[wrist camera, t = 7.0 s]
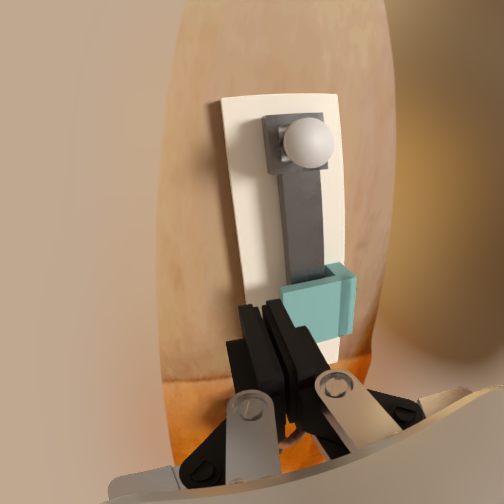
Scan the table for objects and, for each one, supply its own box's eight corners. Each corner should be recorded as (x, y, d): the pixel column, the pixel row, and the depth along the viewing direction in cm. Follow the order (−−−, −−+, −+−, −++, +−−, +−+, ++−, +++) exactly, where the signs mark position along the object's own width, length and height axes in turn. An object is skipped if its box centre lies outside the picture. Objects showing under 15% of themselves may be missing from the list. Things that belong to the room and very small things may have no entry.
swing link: (260, 117, 20) (265, 115, 19) (315, 113, 21) (323, 112, 19) (283, 338, 28) (287, 347, 26) (324, 327, 28) (330, 336, 27)
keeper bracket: (272, 274, 25) (282, 293, 22) (339, 261, 26) (356, 276, 23) (276, 329, 28) (286, 350, 25) (337, 314, 28) (351, 333, 25)
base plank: (220, 100, 20) (227, 87, 15) (331, 95, 21) (363, 87, 17) (256, 376, 31) (266, 410, 26) (334, 356, 32) (352, 385, 27)
